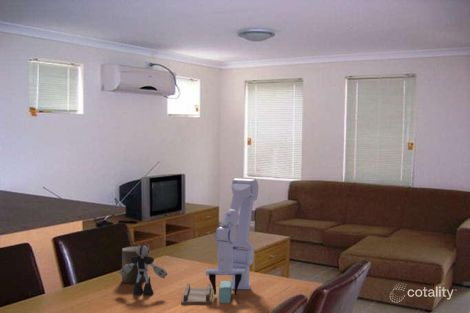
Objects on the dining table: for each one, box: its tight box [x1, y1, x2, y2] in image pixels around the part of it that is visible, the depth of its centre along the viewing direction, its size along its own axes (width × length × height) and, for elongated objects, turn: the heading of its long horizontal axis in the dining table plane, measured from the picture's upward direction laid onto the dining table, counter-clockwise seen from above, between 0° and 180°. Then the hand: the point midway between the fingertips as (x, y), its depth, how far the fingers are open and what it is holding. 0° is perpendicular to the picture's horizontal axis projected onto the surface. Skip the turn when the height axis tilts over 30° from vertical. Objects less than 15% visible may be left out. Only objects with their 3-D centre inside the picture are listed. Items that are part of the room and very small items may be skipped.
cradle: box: [180, 283, 214, 305], centre depth 191 cm, size 16×11×3 cm
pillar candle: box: [121, 245, 145, 285], centre depth 212 cm, size 10×10×15 cm
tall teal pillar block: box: [218, 280, 233, 304], centre depth 191 cm, size 12×4×5 cm, turn 177°
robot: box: [119, 241, 168, 297], centre depth 195 cm, size 20×5×20 cm, turn 78°
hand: (225, 293), depth 191 cm, fingers open, 7 cm apart
